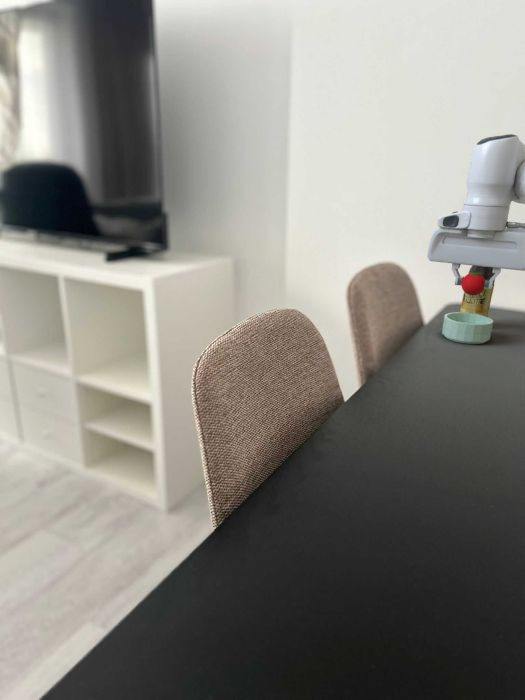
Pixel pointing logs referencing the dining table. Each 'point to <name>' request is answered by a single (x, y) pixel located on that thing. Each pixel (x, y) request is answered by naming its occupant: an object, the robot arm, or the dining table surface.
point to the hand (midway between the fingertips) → (472, 286)
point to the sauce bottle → (479, 295)
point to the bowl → (467, 327)
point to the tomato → (473, 283)
